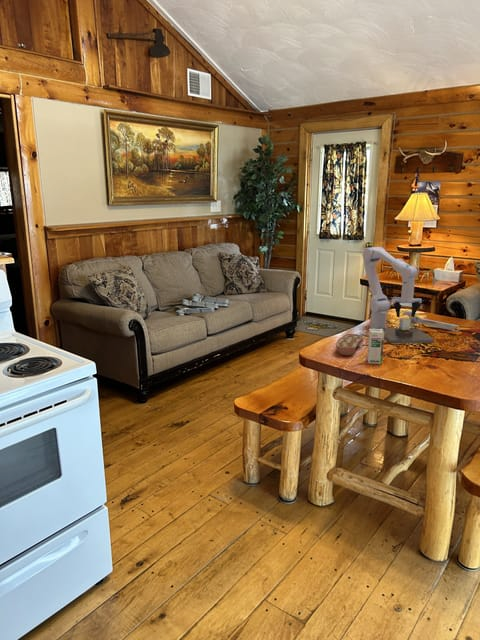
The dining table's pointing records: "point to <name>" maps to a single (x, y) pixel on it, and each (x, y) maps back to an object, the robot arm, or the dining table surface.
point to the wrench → (429, 322)
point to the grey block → (404, 324)
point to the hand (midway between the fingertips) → (405, 316)
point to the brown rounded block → (348, 343)
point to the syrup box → (375, 346)
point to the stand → (406, 335)
